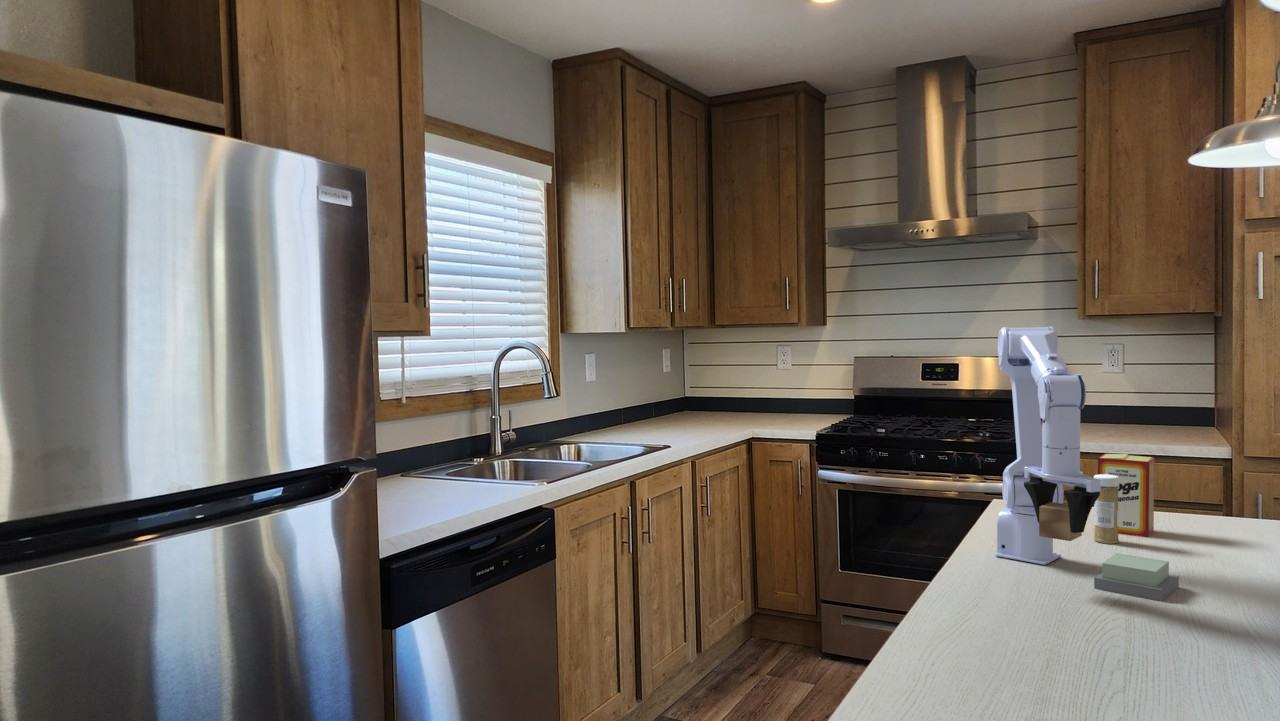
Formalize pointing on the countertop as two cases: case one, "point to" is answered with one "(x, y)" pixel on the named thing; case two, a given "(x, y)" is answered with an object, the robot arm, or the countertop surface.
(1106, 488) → the sprinkles bottle
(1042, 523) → the walnut block
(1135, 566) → the tower top
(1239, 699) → the countertop surface
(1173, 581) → the tower base
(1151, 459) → the baking soda box
